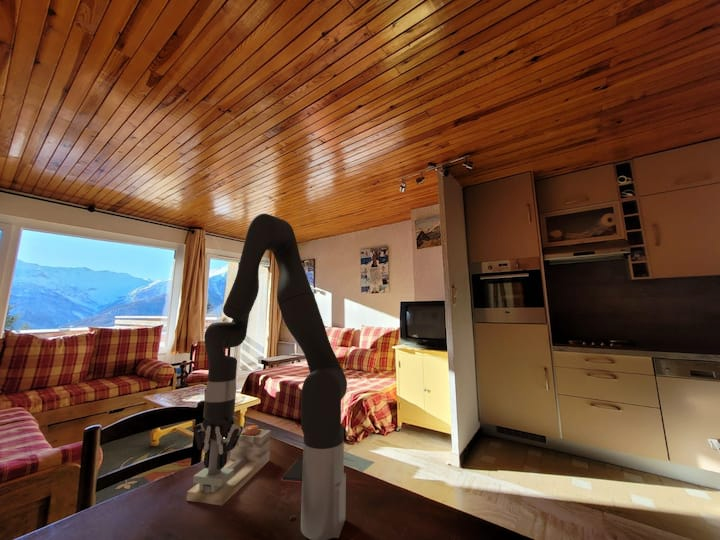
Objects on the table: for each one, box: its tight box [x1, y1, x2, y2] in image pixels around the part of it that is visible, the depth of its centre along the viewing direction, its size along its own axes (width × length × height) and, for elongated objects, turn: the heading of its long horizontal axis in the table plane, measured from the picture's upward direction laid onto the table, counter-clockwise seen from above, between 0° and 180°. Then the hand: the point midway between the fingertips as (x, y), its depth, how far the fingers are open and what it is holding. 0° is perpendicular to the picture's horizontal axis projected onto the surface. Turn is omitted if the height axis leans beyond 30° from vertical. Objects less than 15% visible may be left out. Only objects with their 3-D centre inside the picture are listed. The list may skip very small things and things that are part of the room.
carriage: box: [192, 438, 234, 492], centre depth 75 cm, size 8×5×11 cm, turn 79°
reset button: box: [244, 424, 260, 436], centre depth 91 cm, size 4×4×3 cm
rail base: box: [186, 427, 272, 506], centre depth 82 cm, size 10×23×9 cm, turn 169°
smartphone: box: [280, 456, 303, 484], centre depth 87 cm, size 7×1×14 cm
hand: (214, 467), depth 74 cm, fingers closed on carriage, 3 cm apart
